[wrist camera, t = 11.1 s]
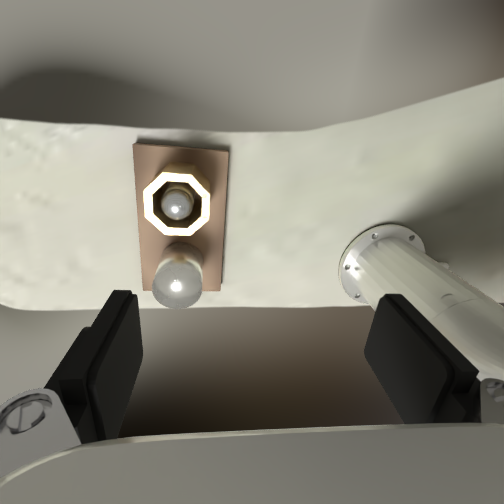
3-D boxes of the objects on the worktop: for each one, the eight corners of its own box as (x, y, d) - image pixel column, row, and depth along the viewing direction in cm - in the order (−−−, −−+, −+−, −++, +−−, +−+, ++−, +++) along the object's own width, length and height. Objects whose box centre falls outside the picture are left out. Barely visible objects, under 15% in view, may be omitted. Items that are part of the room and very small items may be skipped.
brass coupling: (210, 164, 33) (210, 175, 27) (208, 216, 35) (208, 236, 30) (153, 160, 32) (142, 170, 26) (155, 214, 34) (145, 234, 29)
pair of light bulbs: (205, 178, 33) (204, 194, 27) (202, 278, 39) (201, 311, 33) (157, 175, 32) (145, 191, 26) (161, 278, 38) (152, 311, 32)
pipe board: (227, 150, 34) (228, 152, 32) (219, 285, 41) (220, 291, 40) (135, 142, 32) (132, 144, 31) (145, 284, 40) (143, 290, 38)
